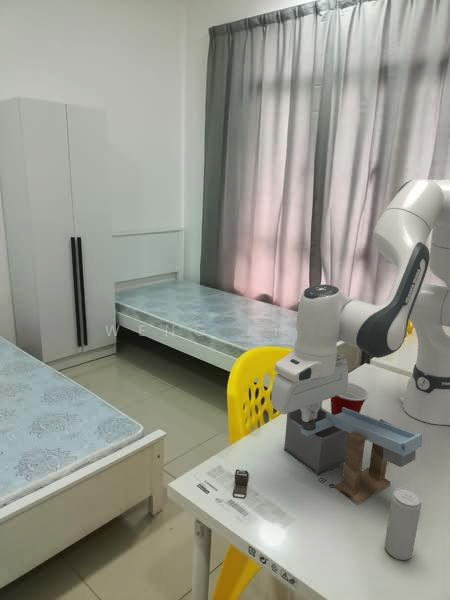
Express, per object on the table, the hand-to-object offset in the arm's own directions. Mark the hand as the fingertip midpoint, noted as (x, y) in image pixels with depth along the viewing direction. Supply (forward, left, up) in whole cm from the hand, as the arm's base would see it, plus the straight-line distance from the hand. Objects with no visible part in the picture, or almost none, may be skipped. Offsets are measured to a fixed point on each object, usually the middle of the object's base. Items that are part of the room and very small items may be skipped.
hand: (308, 419), depth 94 cm
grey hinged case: (+14, -6, -16) cm, 22 cm away
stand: (-9, +9, -15) cm, 20 cm away
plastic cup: (-25, -10, -15) cm, 31 cm away
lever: (-6, +9, -5) cm, 12 cm away
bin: (-9, -5, -15) cm, 19 cm away
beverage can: (0, +24, -15) cm, 29 cm away
